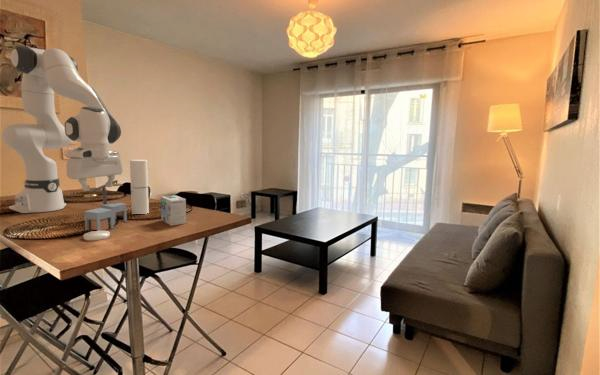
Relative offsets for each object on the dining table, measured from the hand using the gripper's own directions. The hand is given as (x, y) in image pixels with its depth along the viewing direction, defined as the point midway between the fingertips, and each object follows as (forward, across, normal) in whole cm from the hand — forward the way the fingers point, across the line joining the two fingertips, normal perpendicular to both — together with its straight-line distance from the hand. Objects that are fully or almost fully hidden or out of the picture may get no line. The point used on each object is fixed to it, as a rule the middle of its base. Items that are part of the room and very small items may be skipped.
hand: (98, 188), depth 118 cm
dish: (+16, +7, +6) cm, 19 cm away
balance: (+16, -12, -11) cm, 23 cm away
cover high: (+16, -10, -4) cm, 19 cm away
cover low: (+16, 0, 0) cm, 16 cm away
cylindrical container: (+16, -26, -6) cm, 31 cm away
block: (+16, 0, 0) cm, 16 cm away
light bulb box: (+16, -21, +17) cm, 31 cm away
